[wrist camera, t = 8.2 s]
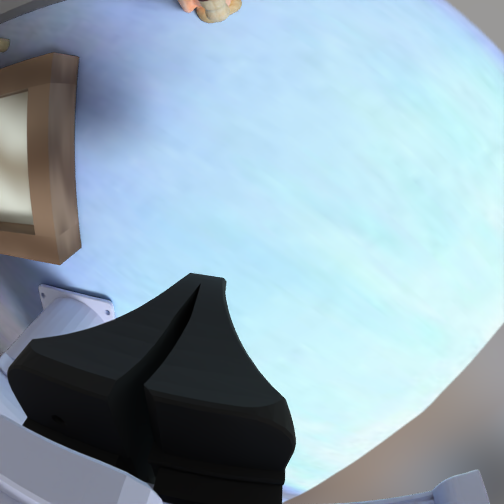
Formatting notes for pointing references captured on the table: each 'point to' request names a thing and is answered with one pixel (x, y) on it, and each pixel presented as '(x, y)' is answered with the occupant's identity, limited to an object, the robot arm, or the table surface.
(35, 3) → the picture rail
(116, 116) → the table surface
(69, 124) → the picture frame
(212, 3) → the grandmother figurine
